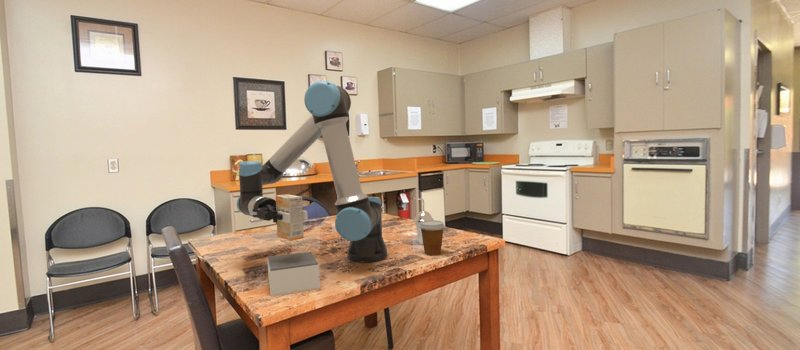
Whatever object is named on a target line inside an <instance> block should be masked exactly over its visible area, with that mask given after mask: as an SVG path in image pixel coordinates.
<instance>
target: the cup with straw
mask: <svg viewBox="0 0 800 350" xmlns="http://www.w3.org/2000/svg"><path fill="white" fill-rule="evenodd" d="M411 200H417V201H422V210H421V211H419V212H417V214H416V215H415V217H414V219H413V222H415V227H416V231H417V239H418V244H419V243H420V244H419V245H422V244H423V239H422V232H421V228H420V225H421V222H423V221H430V220H434V218H433V216H432V215H431V213H430V212H428V211H426V210H425V199H424V198H421V197H412V198H411Z"/></svg>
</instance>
